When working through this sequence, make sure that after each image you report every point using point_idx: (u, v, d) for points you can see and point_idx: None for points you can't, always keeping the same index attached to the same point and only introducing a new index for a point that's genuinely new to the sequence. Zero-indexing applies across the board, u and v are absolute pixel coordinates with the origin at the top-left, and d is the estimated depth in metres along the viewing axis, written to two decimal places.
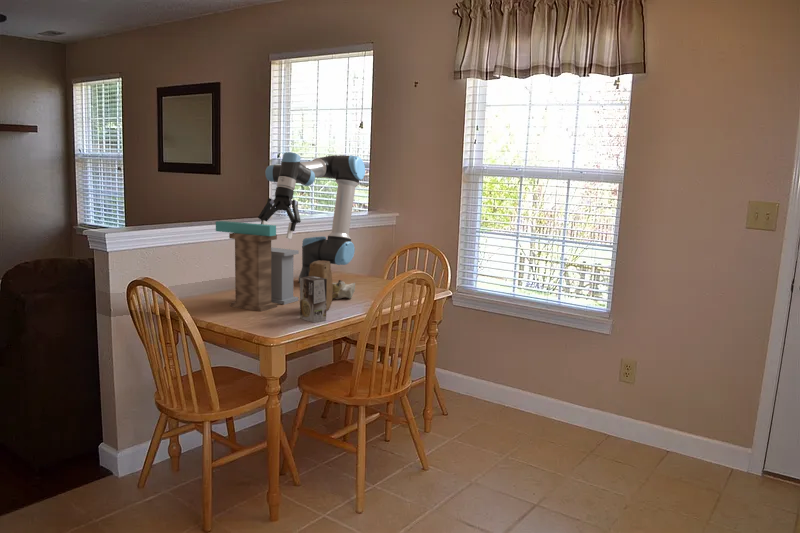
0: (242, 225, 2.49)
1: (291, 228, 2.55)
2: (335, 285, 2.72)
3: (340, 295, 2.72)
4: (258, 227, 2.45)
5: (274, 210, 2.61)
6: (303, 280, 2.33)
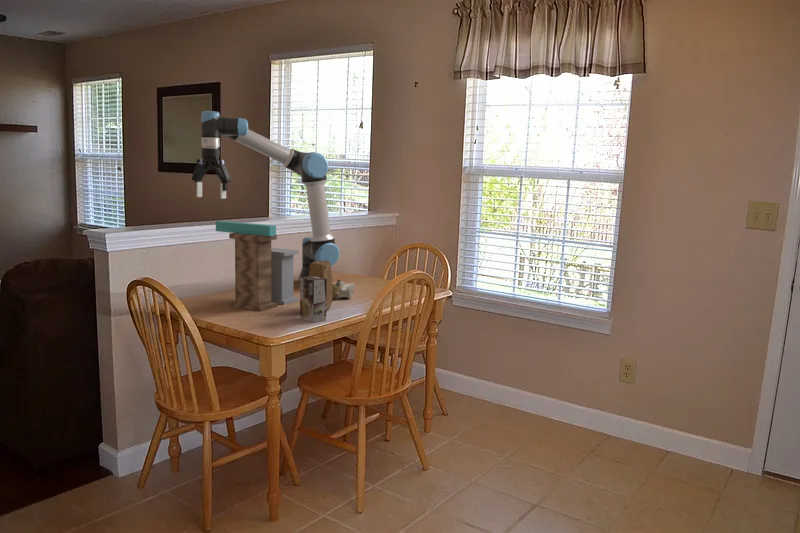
0: (242, 225, 2.49)
1: (223, 188, 2.64)
2: (334, 285, 2.72)
3: (339, 295, 2.73)
4: (258, 227, 2.45)
5: (205, 170, 2.68)
6: (303, 280, 2.33)
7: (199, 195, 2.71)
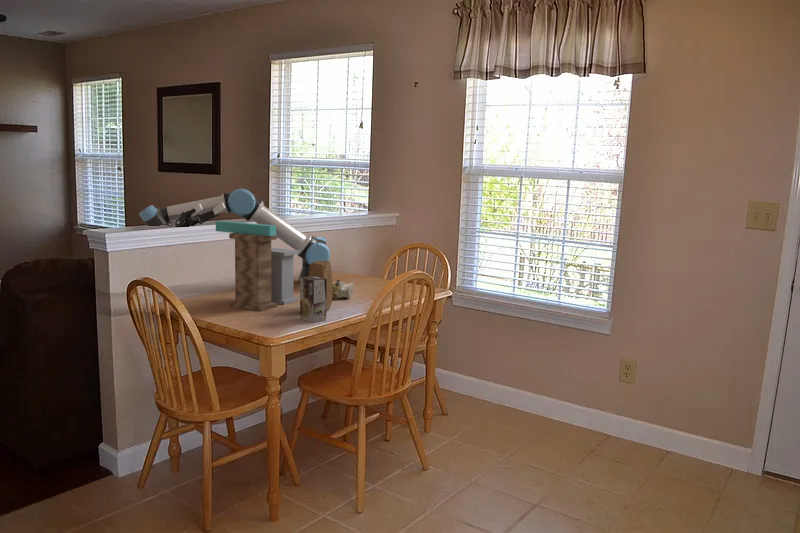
0: (242, 225, 2.49)
1: (193, 212, 2.60)
2: (334, 285, 2.72)
3: (339, 295, 2.72)
4: (258, 227, 2.45)
5: (201, 217, 2.73)
6: (303, 280, 2.33)
7: (222, 206, 2.71)
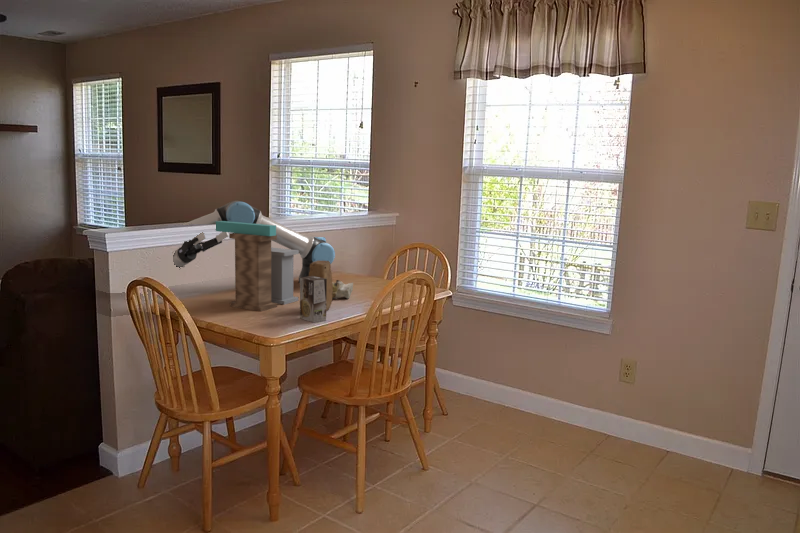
0: (242, 225, 2.49)
1: (196, 241, 2.53)
2: (333, 285, 2.72)
3: (338, 295, 2.72)
4: (258, 227, 2.45)
5: (204, 245, 2.66)
6: (303, 280, 2.33)
7: (225, 234, 2.64)
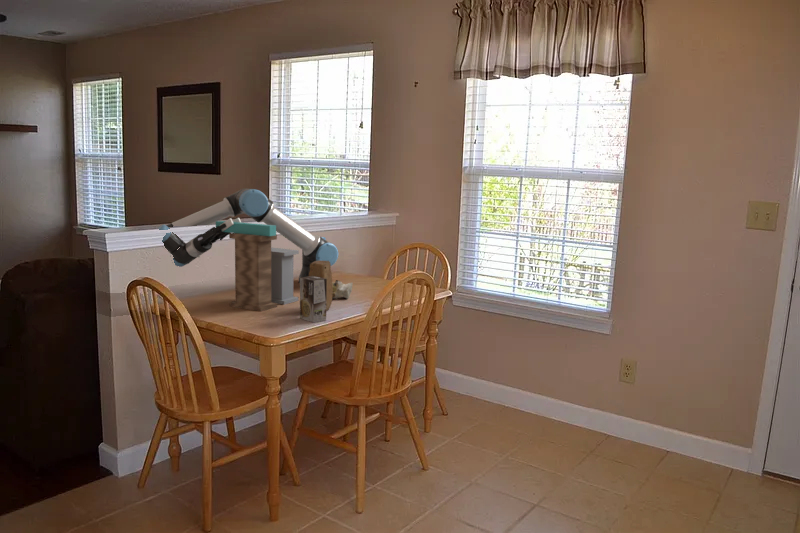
0: (242, 225, 2.49)
1: (224, 227, 2.52)
2: None
3: (337, 295, 2.72)
4: (258, 227, 2.45)
5: (217, 234, 2.60)
6: (303, 280, 2.33)
7: None
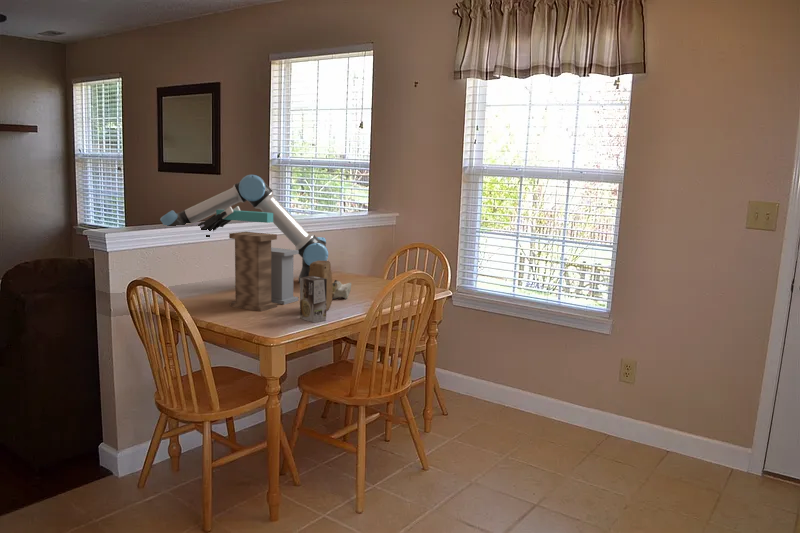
0: (241, 213, 2.66)
1: (224, 215, 2.69)
2: None
3: (336, 295, 2.72)
4: (256, 214, 2.62)
5: (218, 222, 2.77)
6: (303, 280, 2.33)
7: None
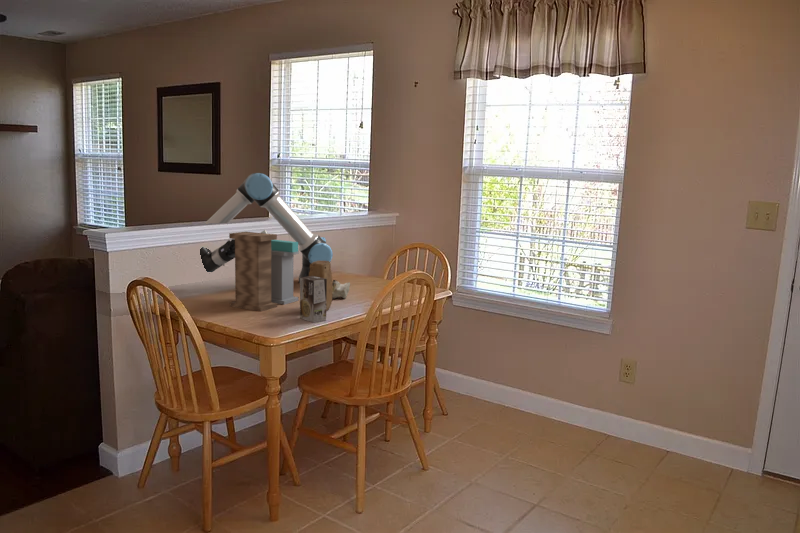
0: None
1: None
2: None
3: (335, 295, 2.72)
4: (281, 243, 2.60)
5: None
6: (303, 280, 2.33)
7: None
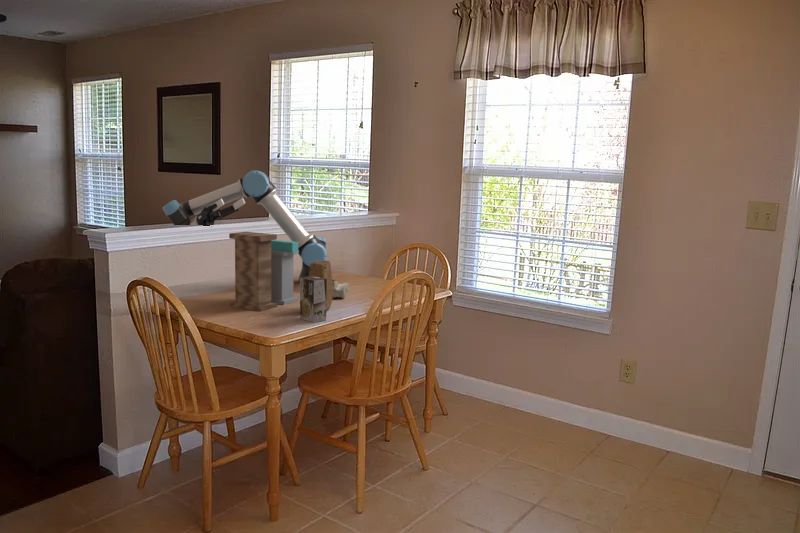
0: None
1: (215, 207, 2.67)
2: None
3: (333, 295, 2.73)
4: (281, 243, 2.60)
5: (221, 212, 2.80)
6: (303, 280, 2.33)
7: (242, 201, 2.78)
